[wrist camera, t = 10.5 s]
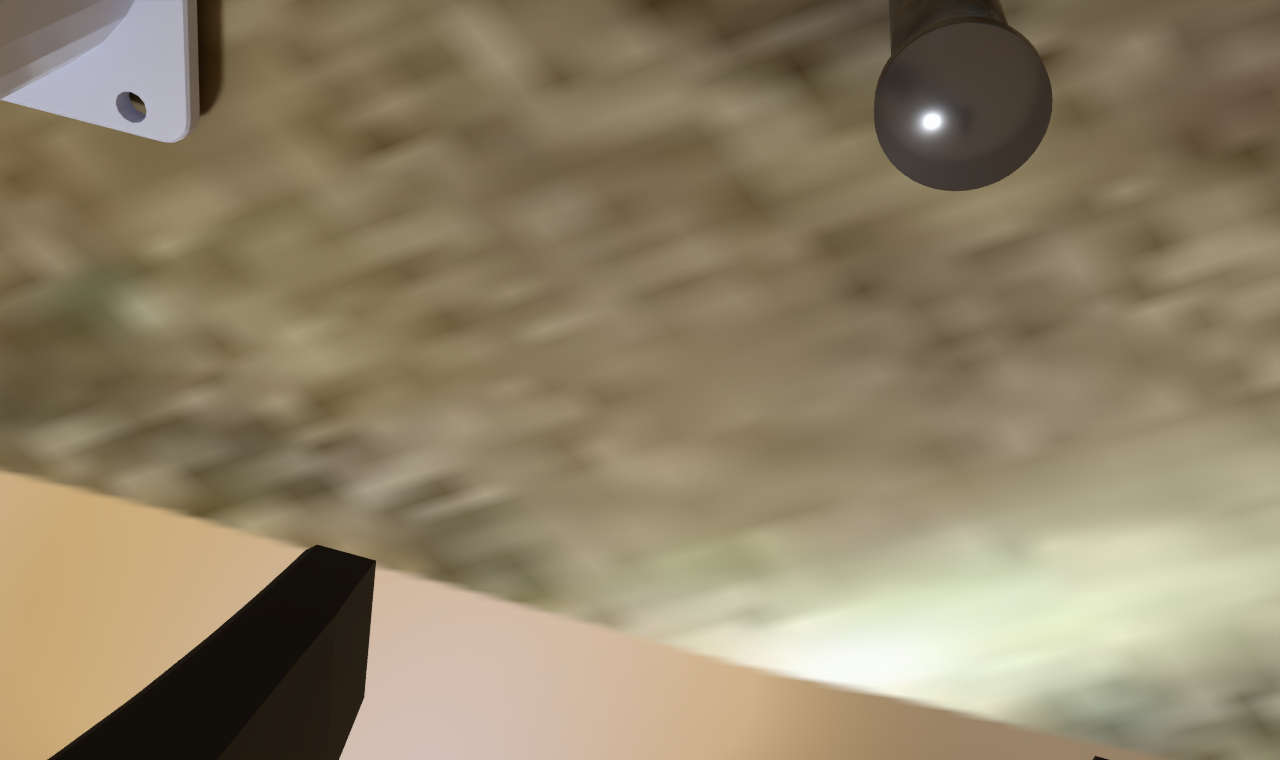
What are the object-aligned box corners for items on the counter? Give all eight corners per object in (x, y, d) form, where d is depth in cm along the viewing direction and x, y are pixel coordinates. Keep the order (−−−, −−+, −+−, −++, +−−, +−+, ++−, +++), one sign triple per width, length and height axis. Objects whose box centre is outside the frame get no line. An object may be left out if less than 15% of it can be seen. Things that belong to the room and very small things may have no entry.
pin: (858, 36, 17) (852, 168, 13) (897, -92, 16) (905, 4, 12) (978, 66, 17) (1013, 208, 12) (1025, -60, 16) (1081, 48, 11)
